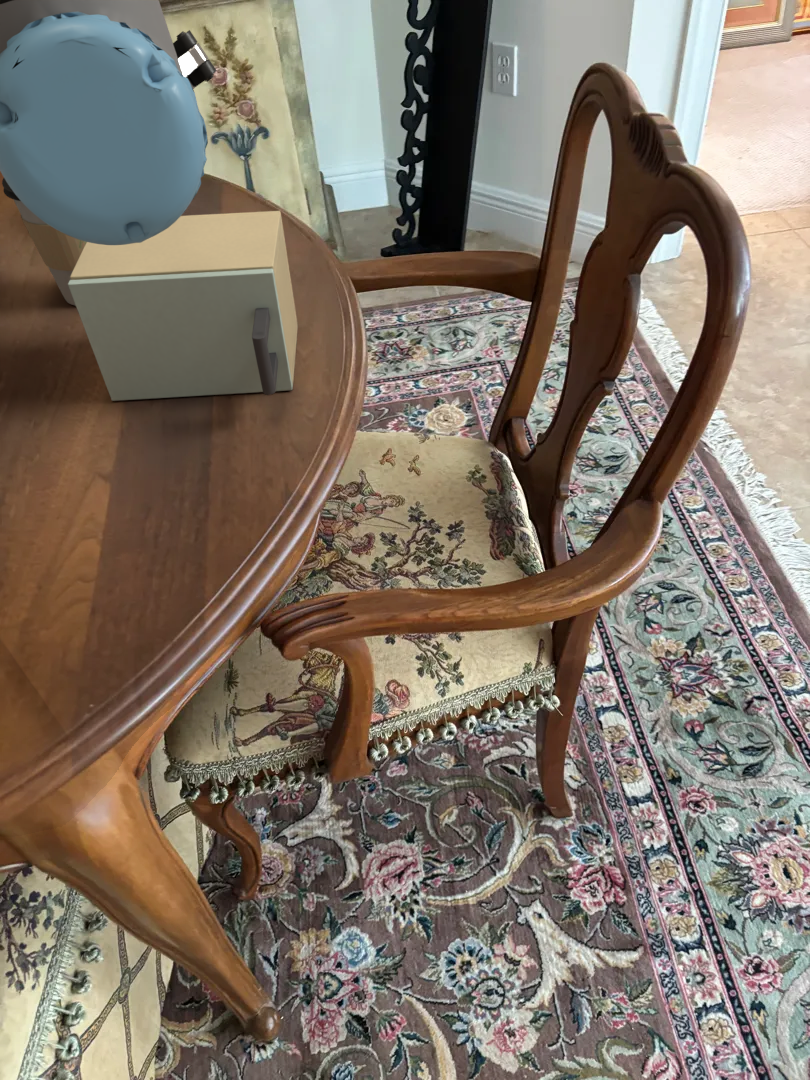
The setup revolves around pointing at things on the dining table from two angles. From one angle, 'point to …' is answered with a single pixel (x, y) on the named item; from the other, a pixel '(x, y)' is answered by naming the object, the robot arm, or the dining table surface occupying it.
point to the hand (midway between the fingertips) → (126, 109)
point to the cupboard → (204, 256)
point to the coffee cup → (51, 245)
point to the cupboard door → (185, 333)
